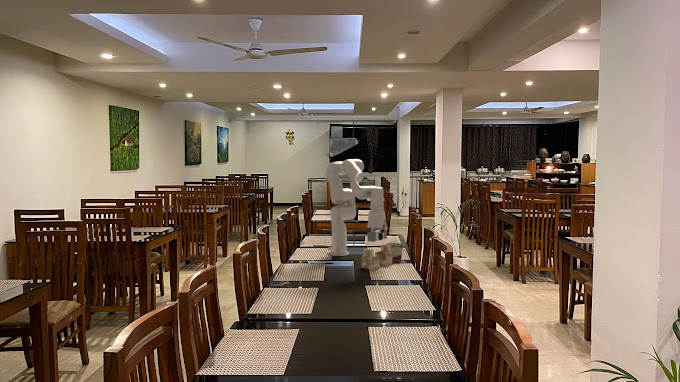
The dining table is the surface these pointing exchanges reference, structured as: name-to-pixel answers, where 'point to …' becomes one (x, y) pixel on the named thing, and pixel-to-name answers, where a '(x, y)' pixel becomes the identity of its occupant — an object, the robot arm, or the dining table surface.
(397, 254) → the food container
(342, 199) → the robot arm
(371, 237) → the bed rail
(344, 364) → the dining table surface
